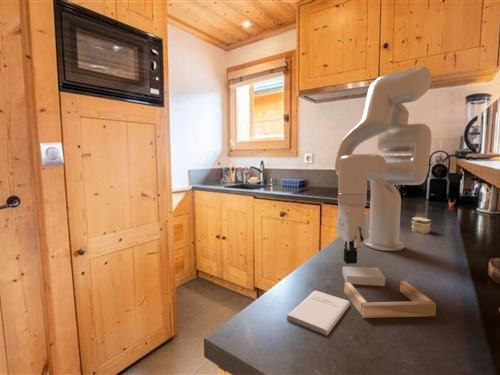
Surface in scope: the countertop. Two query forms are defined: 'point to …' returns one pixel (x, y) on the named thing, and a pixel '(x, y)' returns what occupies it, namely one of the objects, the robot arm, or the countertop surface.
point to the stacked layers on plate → (420, 225)
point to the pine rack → (393, 303)
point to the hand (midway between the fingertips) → (350, 262)
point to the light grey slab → (363, 276)
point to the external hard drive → (319, 312)
